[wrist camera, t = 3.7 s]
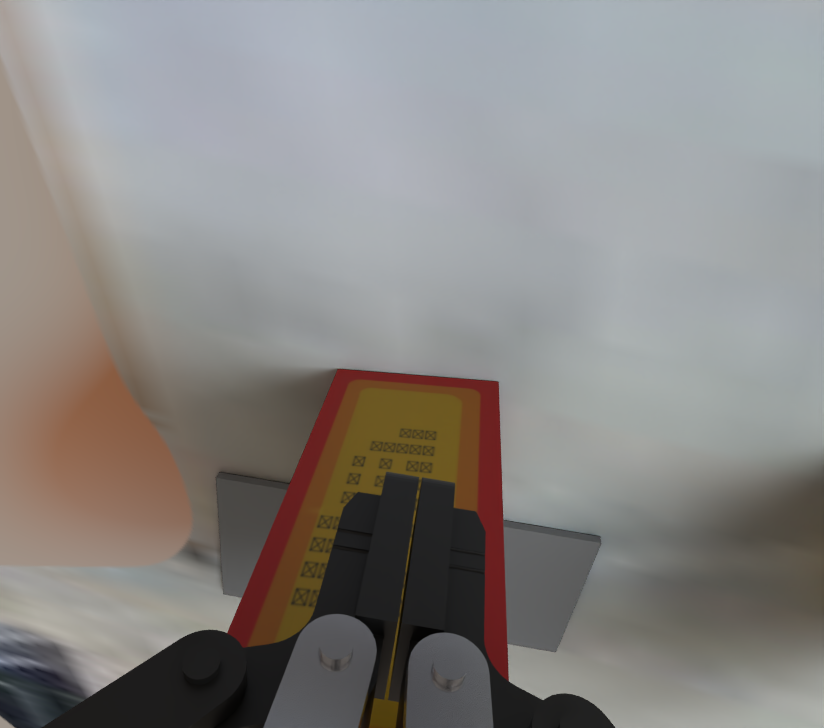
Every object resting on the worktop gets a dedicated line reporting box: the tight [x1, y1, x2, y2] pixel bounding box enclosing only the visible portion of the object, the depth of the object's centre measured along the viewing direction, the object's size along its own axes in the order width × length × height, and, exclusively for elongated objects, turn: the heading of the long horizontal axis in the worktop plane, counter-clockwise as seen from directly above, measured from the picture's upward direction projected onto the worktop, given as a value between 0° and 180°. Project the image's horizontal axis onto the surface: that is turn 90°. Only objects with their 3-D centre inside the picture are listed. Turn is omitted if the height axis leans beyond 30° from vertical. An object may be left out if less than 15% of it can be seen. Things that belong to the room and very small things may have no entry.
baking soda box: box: [227, 369, 509, 728], centre depth 21 cm, size 10×6×16 cm
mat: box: [216, 472, 601, 652], centre depth 31 cm, size 8×18×1 cm, turn 83°
